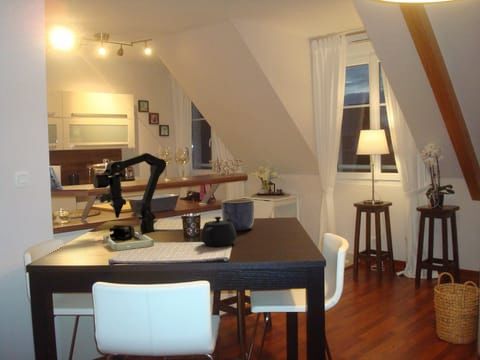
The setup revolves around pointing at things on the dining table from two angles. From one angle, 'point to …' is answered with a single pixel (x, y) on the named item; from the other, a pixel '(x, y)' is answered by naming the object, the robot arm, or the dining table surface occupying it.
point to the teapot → (218, 233)
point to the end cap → (122, 233)
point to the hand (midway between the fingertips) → (117, 217)
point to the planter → (239, 213)
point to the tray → (132, 244)
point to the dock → (137, 234)
